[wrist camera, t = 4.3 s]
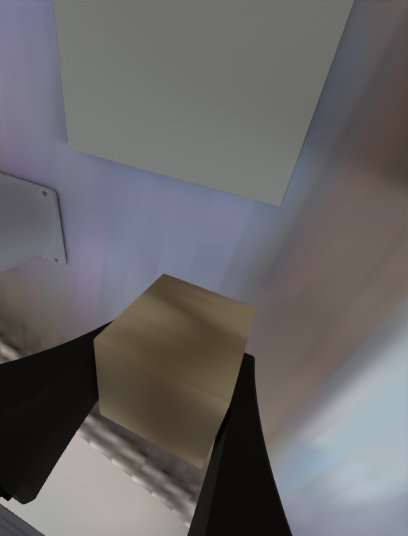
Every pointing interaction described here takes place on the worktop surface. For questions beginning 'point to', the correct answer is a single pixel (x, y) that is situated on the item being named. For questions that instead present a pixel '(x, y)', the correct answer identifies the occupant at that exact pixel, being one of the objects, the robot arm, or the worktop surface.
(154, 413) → the maple cube
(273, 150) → the gray board
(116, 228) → the worktop surface
